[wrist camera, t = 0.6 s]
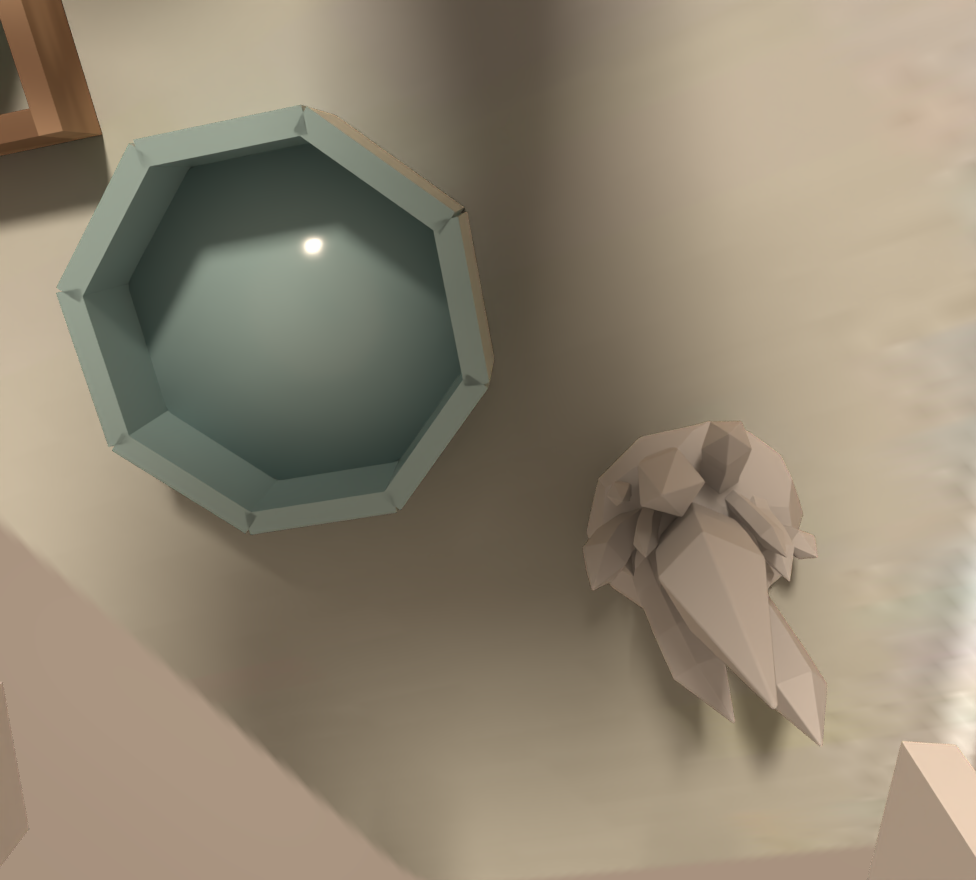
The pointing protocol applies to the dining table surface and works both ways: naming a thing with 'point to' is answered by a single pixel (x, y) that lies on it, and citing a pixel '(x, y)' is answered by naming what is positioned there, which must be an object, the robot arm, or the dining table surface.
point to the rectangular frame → (45, 78)
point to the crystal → (710, 562)
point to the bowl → (278, 319)
